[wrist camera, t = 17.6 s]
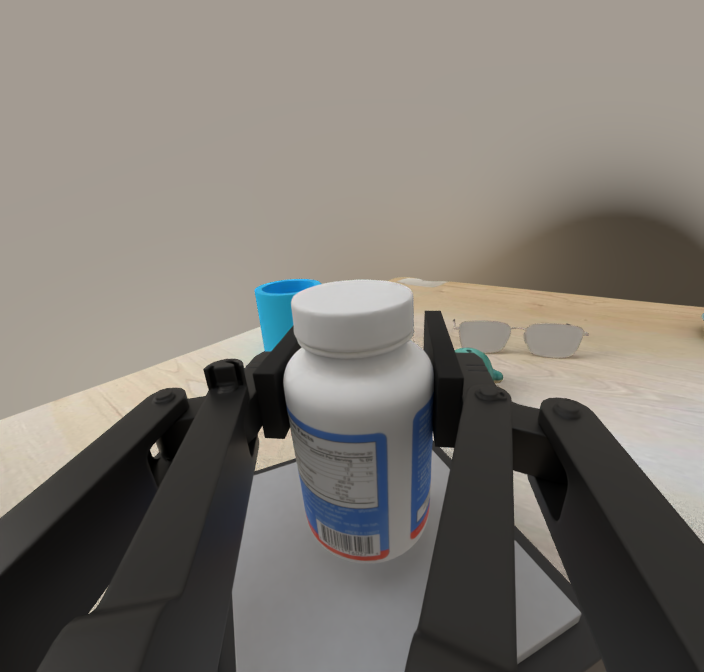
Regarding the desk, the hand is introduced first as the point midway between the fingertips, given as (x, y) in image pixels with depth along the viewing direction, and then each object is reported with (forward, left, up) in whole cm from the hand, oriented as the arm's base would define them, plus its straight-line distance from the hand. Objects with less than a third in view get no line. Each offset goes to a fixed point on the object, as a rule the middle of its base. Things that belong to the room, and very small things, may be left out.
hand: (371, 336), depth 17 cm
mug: (+1, +24, -11) cm, 26 cm away
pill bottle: (-3, -4, -6) cm, 8 cm away
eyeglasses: (+25, +14, -11) cm, 31 cm away
